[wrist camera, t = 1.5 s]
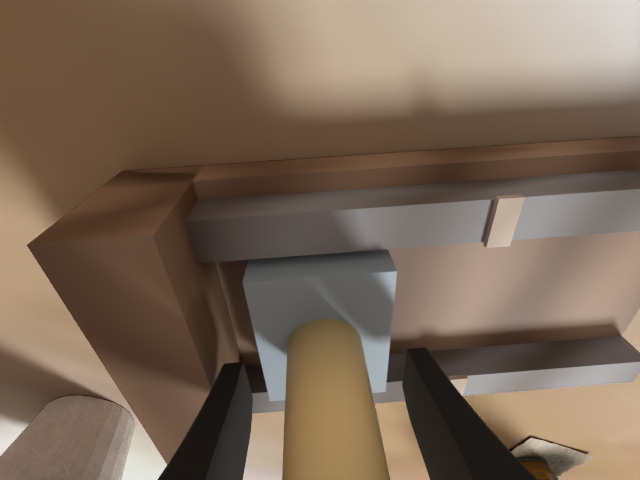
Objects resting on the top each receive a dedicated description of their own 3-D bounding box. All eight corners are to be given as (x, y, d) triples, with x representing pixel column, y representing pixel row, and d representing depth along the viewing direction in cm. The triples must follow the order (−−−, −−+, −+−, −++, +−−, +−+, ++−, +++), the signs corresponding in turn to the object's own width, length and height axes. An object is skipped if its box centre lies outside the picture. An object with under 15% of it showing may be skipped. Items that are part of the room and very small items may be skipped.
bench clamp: (701, 131, 12) (908, 181, 8) (582, 342, 19) (663, 431, 15) (121, 170, 12) (27, 244, 8) (201, 373, 18) (173, 473, 14)
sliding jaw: (383, 238, 12) (487, 490, 5) (376, 353, 16) (434, 593, 9) (250, 248, 12) (190, 516, 5) (273, 361, 16) (253, 609, 9)
